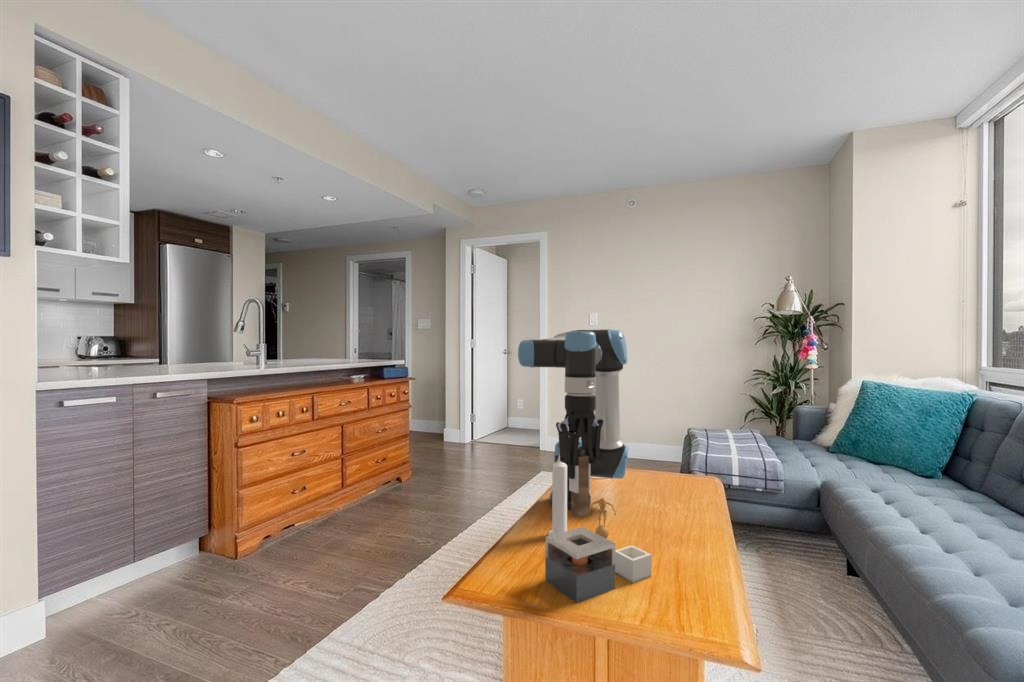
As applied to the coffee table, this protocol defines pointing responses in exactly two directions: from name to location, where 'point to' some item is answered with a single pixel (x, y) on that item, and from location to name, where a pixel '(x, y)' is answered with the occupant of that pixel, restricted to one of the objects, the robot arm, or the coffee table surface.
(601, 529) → the figurine
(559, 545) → the grey box with hole
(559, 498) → the candle
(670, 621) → the coffee table surface
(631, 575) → the pen cup
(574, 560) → the button
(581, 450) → the wood knob block
